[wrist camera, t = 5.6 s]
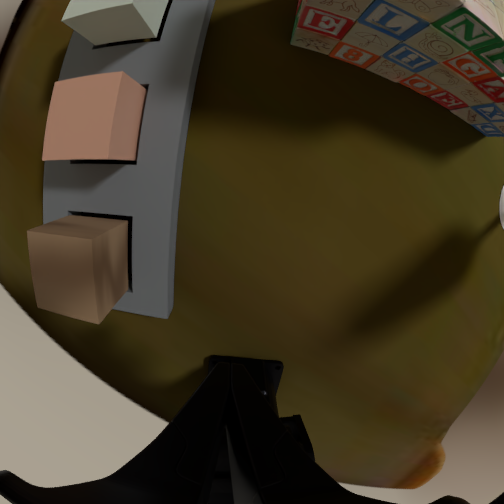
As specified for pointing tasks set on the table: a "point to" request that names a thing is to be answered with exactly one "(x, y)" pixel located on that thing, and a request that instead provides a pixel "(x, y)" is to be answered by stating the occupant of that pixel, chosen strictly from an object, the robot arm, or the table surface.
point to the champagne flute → (502, 207)
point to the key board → (139, 151)
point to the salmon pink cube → (95, 118)
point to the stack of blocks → (418, 48)
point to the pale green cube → (115, 19)
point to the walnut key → (79, 265)
